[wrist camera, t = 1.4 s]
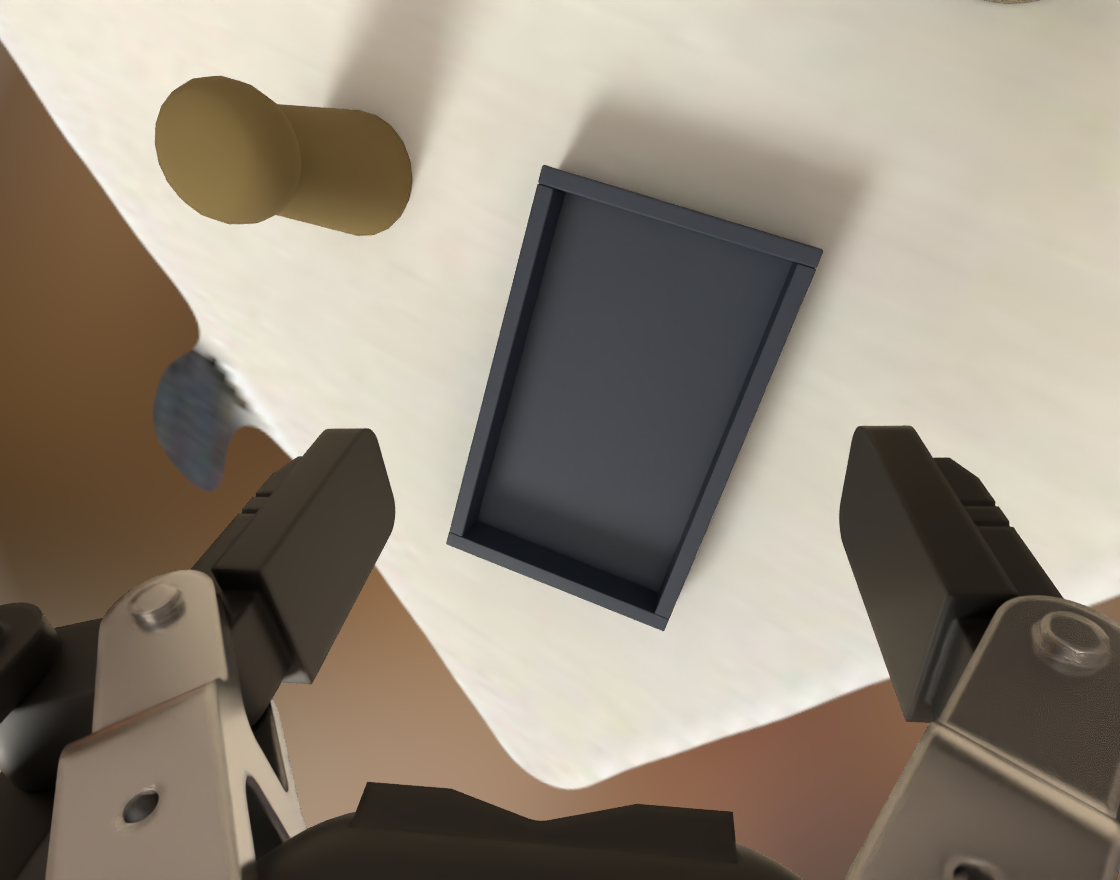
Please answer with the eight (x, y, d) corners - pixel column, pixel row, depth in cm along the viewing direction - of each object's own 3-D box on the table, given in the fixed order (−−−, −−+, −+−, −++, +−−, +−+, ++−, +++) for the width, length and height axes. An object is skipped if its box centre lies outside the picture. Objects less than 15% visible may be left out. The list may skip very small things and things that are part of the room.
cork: (414, 115, 32) (265, 58, 22) (409, 242, 34) (271, 245, 24) (305, 105, 33) (116, 46, 23) (307, 228, 35) (134, 225, 25)
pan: (557, 170, 31) (542, 164, 28) (816, 248, 29) (824, 249, 27) (464, 524, 38) (445, 544, 35) (668, 604, 36) (664, 631, 34)
